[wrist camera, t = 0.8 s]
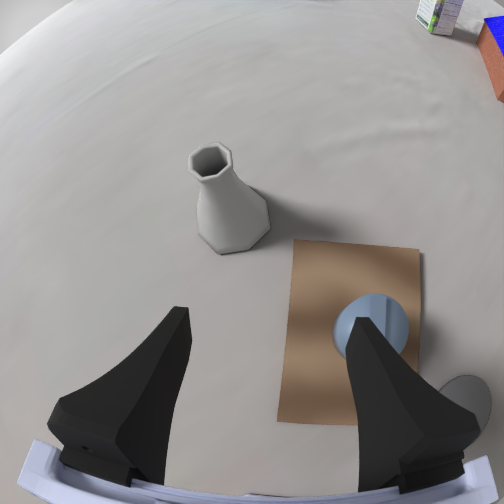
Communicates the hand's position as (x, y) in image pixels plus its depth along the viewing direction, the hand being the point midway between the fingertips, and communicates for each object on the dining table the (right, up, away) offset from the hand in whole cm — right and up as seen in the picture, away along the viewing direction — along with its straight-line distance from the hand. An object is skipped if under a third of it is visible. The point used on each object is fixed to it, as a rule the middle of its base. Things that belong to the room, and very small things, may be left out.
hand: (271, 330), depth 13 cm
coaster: (+19, -12, +8) cm, 24 cm away
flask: (-3, +6, +17) cm, 18 cm away
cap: (+8, -3, +9) cm, 13 cm away
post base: (+8, -4, +12) cm, 15 cm away
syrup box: (+34, +46, +26) cm, 63 cm away
